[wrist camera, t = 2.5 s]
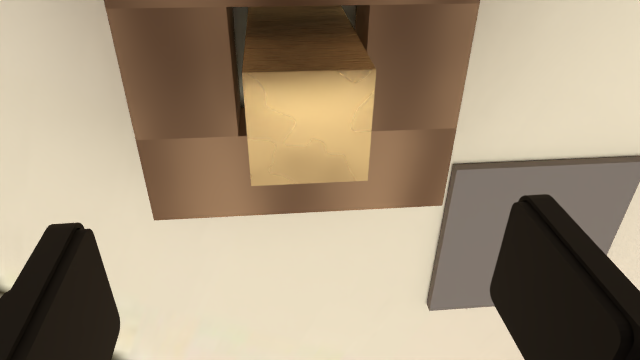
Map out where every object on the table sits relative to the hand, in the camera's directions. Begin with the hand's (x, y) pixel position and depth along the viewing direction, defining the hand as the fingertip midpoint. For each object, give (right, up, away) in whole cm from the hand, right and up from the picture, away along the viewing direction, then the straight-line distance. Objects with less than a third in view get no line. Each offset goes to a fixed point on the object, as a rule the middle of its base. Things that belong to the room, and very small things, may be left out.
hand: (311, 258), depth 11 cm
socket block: (-1, +8, +11) cm, 14 cm away
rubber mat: (+13, -2, +19) cm, 23 cm away
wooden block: (-1, +8, +11) cm, 14 cm away
